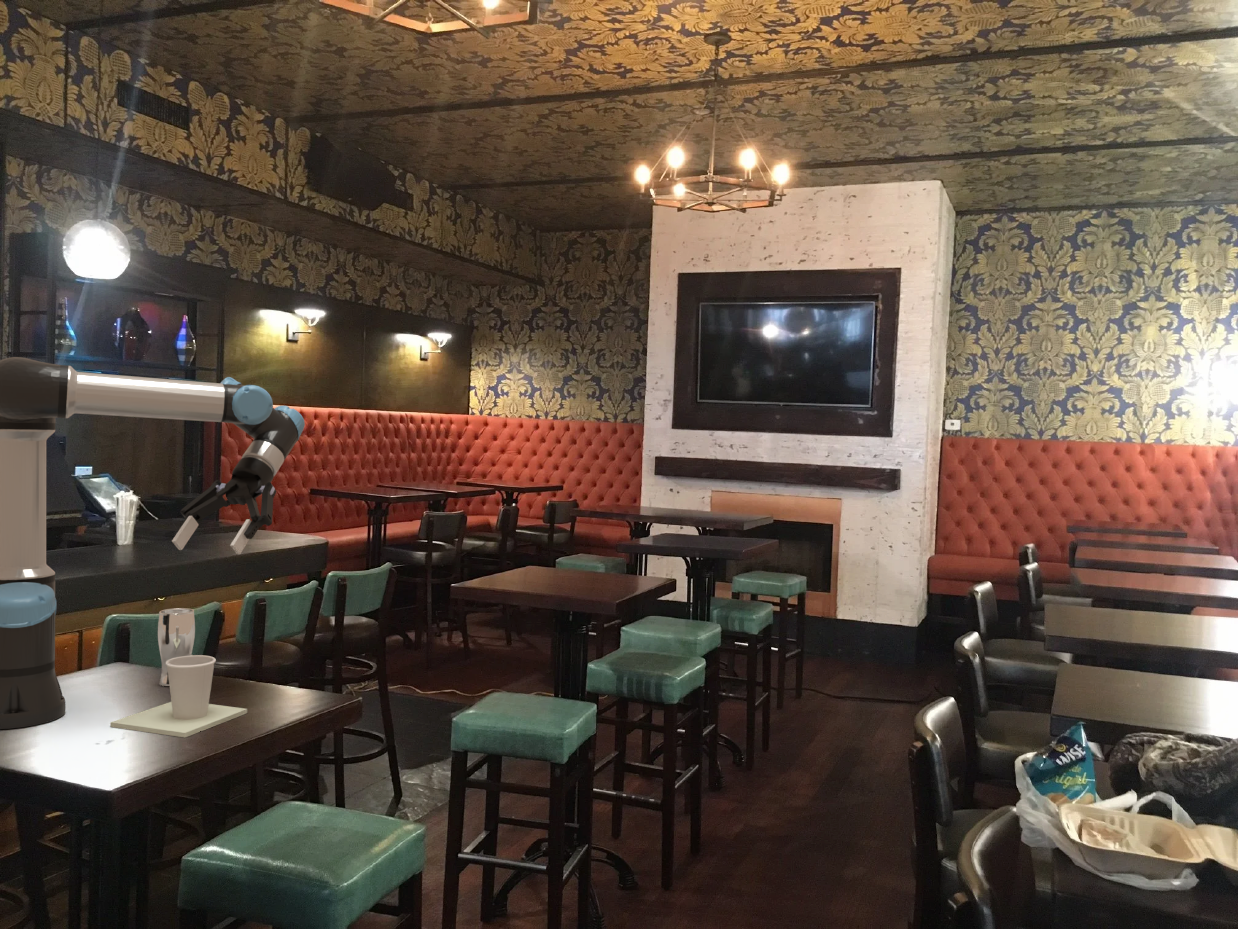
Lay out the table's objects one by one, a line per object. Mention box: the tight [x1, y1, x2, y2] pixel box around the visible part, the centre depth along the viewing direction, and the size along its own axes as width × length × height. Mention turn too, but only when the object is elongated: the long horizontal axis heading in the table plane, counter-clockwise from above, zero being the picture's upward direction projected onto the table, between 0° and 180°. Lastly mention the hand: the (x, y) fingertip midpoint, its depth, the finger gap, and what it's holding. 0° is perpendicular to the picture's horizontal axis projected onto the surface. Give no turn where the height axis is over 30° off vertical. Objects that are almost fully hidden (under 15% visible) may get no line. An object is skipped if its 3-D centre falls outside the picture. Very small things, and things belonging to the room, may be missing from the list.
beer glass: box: [157, 607, 196, 687], centre depth 203 cm, size 7×7×15 cm
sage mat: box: [109, 701, 248, 738], centre depth 179 cm, size 16×16×1 cm
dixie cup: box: [166, 654, 217, 720], centre depth 179 cm, size 8×8×10 cm
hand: (205, 547), depth 190 cm, fingers open, 13 cm apart
